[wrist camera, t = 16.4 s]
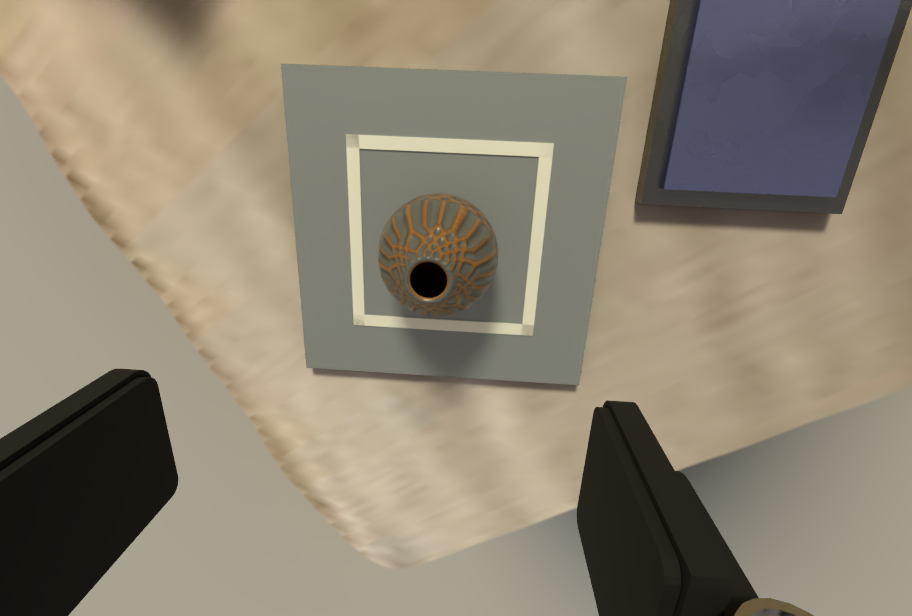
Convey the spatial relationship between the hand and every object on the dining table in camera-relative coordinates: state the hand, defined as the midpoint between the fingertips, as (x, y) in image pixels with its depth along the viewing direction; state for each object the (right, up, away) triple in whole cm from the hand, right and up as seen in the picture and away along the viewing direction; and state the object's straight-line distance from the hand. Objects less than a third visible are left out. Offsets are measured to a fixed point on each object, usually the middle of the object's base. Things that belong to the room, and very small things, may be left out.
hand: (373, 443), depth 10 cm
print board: (+1, +8, +21) cm, 22 cm away
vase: (+1, +7, +20) cm, 22 cm away
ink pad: (+19, +15, +17) cm, 30 cm away
